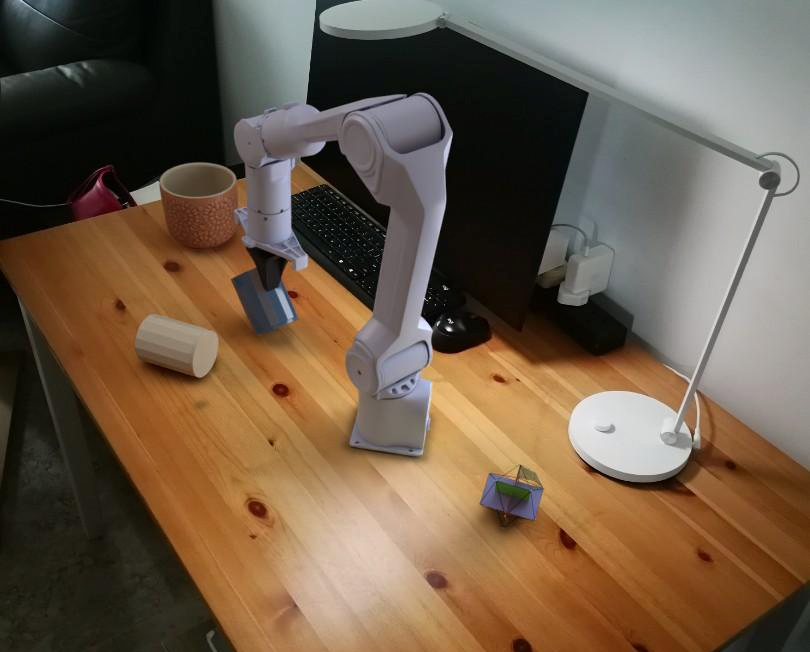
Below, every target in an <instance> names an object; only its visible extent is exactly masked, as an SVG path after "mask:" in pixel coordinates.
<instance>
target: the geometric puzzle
mask: <svg viewBox="0 0 810 652" xmlns="http://www.w3.org/2000/svg"><path fill="white" fill-rule="evenodd" d="M518 467H519V468H518ZM516 468H518V471H517V474H516V476H511V475H507V474H509V473H510V472H512V471H513V470H515V469H516ZM505 469H507V467H505V468H504V470H505ZM498 471H500V469H498V470H497V472H498ZM494 472H496V470H495V471H493V472H491V471H490V472H488V476H487V480H486V482H485V484H484V487H483V491H482V495H481V498H480V502H479V503H478V505H479V506H481V507H485V508H487V509H489V510H491V511H493V512H495V513H497V516H498V518H499V521H500V523H501V524H500V525H501V528H502V529H505V528H507V527H508V528H509V527H511V525H510V524H511V523H513V522H515V520H517V519H521V520H528V521H533V522H536V519H537V514H538V511H539V508H540V504H541V500H542V497H543V492H544V490H545V487H544V486H543V484H542V482H541V481H540V479H539V477H538V475H537V473H536V472H535V471H533V470H531V468H528V467H526V466H525V465H522V464H521V463H519V464H518V465H515V466H514V468H512V469H510V470H509V471H508V472H506V473H505V474H501V475H500V474H499V473H494ZM506 476H507V477H506ZM512 478H514V479H512ZM520 480H521V481H520ZM522 481H523V482H522ZM530 481H533V482H535V483H536V484H534V483H532V482H530ZM525 482H526V483H525ZM499 511H502V512H503V513H501V512H499ZM508 514H512V515H515V516H513V518H514V519H513V520H511V521H510V522H508V523H507V524H506V520H507V517H508V518H512V516H511V515H508ZM500 515H502V516H503V517H504V518H503V522H502V519H501V516H500ZM526 523H527V522H524V524H526ZM522 524H523V522H522V523H520V525H522ZM508 525H509V526H508ZM517 525H518V526H519V523H518V524H516V526H517ZM513 526H515V524H513V525H512V527H513Z"/></svg>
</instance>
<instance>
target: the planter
mask: <svg viewBox="0 0 810 652" xmlns="http://www.w3.org/2000/svg"><path fill="white" fill-rule="evenodd" d="M158 183H159V184H158V185H159V193H160V199H161V204H162V208H163V214H164V220H165V224H166V228H167V230H168V232H169V233H170V235H171V237H172V238H173V239H174V240H176V241H177V242H178V243H180V244H182V245H184V246H186V247H189V248H192V249H200V250H204V249H205V250H206V249H212V248H216V247H219V246H221V245H223V244H224V243H226V242H227V241H229V240H230V239H231V238H232V237H233V236H234V235H235V233H236V231H237V229H238V225H237V224H236V223H235V221H234V210H237V209H239V189H238V188H239V187H238V180H237V176H236V174H235V173H234V171H232V170H231V169H229V168H228V167H226V166H223V165H221V164H217V163H211V162H187V163H183V164H179V165H176V166H173V167H171V168H169V169H167V170H166V171H165V172H163V174H161V176H160V178H159V182H158Z"/></svg>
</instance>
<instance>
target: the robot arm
mask: <svg viewBox="0 0 810 652" xmlns="http://www.w3.org/2000/svg"><path fill="white" fill-rule="evenodd" d="M407 96H408V95H407V94H391V95H385V96H376V97H369V98H363V99H361V100H360V99H359V100H357V101H354V102H350V103H346V104H343V105H340V106H337V107H333V108H329V109H326V110H322V111H320V110H318V109H317V108H316V107H314V106H313V105H310V104H307V103H306V104H305V103H304V104H300V101H299V100H298V99H296V100H292V101H289V102H285V103H283V104H282V107H283V109H279V110H278V109H277V107H272V108H268V109H265V110H263V114H259V115H257V116H253V117H249V118H241V119H240V120H239V121H238V122H237V123H235V126H234V130H233V138H234V145H235V148H236V152H237V153H238V155H239V157H240V158H241V160H242V161H243V163H244V169H245V188H246V189H245V190H246V191H245V192H246V193H245V194H246V206H242V207H240V208H238V209H237V210H234V221H235V223H236V224H237V226H241V228H242V230H243V233H244V234H245V235H244V236H242V237H241V243H242V245H244V246H245V250H246V251H247V253H248V254H249V256H250V258H251V259H252V261H253V263H254V265H255V268H257V270H258V273H259V276H260V280H261V283H262V285H263V288H264V289H265V290H266V291H271V290H273V289H275V288H278V287H279V284H280V281H281V279H282V277H283V274H284V271H285V269H286V266H287V265H288V262H289V263H290V264H291V269H292V270H293V271H294V272H299V271H301V270H303V269H306V268H308V267H309V254H308V253H306V252H305V250H304V249H303V248H302V246H301V244H300V242H299V241H298V238H297V237H296V234H295V233H294V231H293V229H292V171H293V170H294V168H295V167H296V159H297V158H304V157H309V156H314V155H316V154H318V153H319V152H321V150H322V149H324V147H325V145H326V142H332V141H333V142H334V141H338V145H339V146H338V147H339V150H340V152H341V154H342V155H345V157H346V159H347V161H348V162H349V164H350V165H351V167H352V168H353V169H354V171H355V172H356V174H357V175H358V177H359V178H360V179H361V181H362V183H363V184H364V185H365V187H366V188H367V190H368V191H369V192H370V194H371V195H372V197H373V198H374V200H375V202H377V203H378V204H381V205H384V206H387V207H390V211H389V218H388V225H387V228H386V235H385V240H384V247H383V253H382V258H381V264H380V269H379V275H378V282H377V287H376V292H375V299H374V305H373V310H372V315H371V317H370V319H369V320H368V321H367V322H366V323H365V324H364V325H363V326H362V327H361V328H360V329H359V330H358V332H357V333H355V335H354V337H353V342H352V345H351V347H349V348H348V349H347V351H346V352H345V359H344V364H345V371H346V373H347V376H348V378H349V380H350V382H351V383H352V384H353V386H354V387H355V388H356V389H357V390H358V396H357V397H358V398H357V399H358V400H357V414H356V417H355V420H354V425H353V428H352V432H351V434H350V438H349V439H350V440H349V446H350V447H352V448H360V449H366V450H371V451H379V452H385V453H391V454H398V455H404V456H411V457H418V458H420V457H422V456H423V452H424V447H425V442H426V436H427V432H429V431H430V428H431V419H432V418H431V417H430V412H431V403H432V393H433V381H431V380H428V379H425V378H423V377H422V371H423V369H425V368H427V367H429V366H430V365H431V363H432V361H433V355H434V354H433V345H432V336H433V332H434V330H433V329H432V327H431V325H430V324H429V323H428V322H427V321H426V319H425V318H424V317H422V312H423V311H422V310H423V306H424V302H425V297H426V293H427V289H428V284H429V281H430V276H431V271H432V267H433V263H434V258H435V254H436V250H437V245H438V241H439V237H440V231H441V228H442V224H443V219H444V215H445V211H446V206H447V205H446V204H447V188H446V167H447V163H448V158H449V154H450V149H451V144H452V139H453V134H454V133H453V130H452V128H451V126H450V123H449V122H448V119H447V117H446V115H445V112H444V110H443V109H442V107H441V105H440V103H439V102H438V101H437V100H436V99H435V98H434V97H433V96H431V95H430V94H428V93H426V92H417V93H414V94H412V95H410V96H409V97H407Z"/></svg>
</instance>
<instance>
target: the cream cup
mask: <svg viewBox="0 0 810 652" xmlns="http://www.w3.org/2000/svg"><path fill="white" fill-rule="evenodd" d="M134 350H135V355H136V357H137V358H138V359H139V360H140V361H142V362H143V361H144V362H147V363H150V364H154V365H157V366H159V367H162V368H166V369H168V370H169V369H170V370H173V371H176V372H179V373H182V374H185V375H189V376H191V377H195V378H199V379H200V378H201V379H202V378H204V377H205V376H206V375H207V374H208V373H209V372H210V371H211V369H212V368H213V367H214V364H215V363H216V359H217V356H218V353H219V337H218V334H217V333H216V332H215V331H214V330H211V329H208V328H205V327H201V326H198V325H195V324H193V323H192V324H191V323H189V322H185V321H181V320H178V319H174V318H171V317H168V316H164V315H161V314H158V313H151V314H149V315H147V317H145V318H144V319H143V320H142V322H141V324H140V325H139V326H138V329H137V333H136V335H135V340H134Z"/></svg>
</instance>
